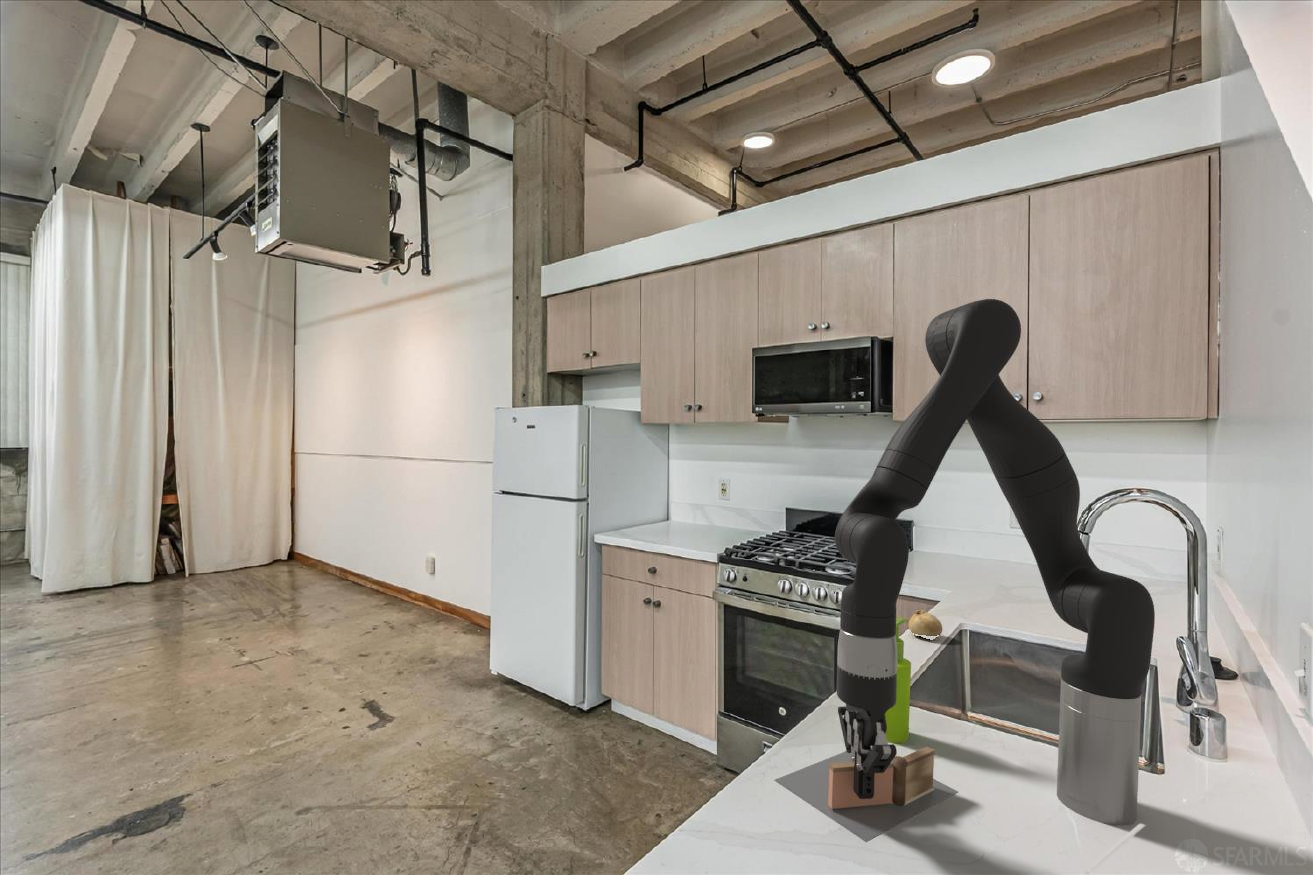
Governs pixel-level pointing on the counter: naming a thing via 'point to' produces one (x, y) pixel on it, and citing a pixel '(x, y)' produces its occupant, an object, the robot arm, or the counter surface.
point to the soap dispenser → (900, 696)
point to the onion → (925, 624)
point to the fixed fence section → (912, 775)
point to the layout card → (858, 819)
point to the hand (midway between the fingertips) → (863, 795)
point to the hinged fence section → (844, 783)
